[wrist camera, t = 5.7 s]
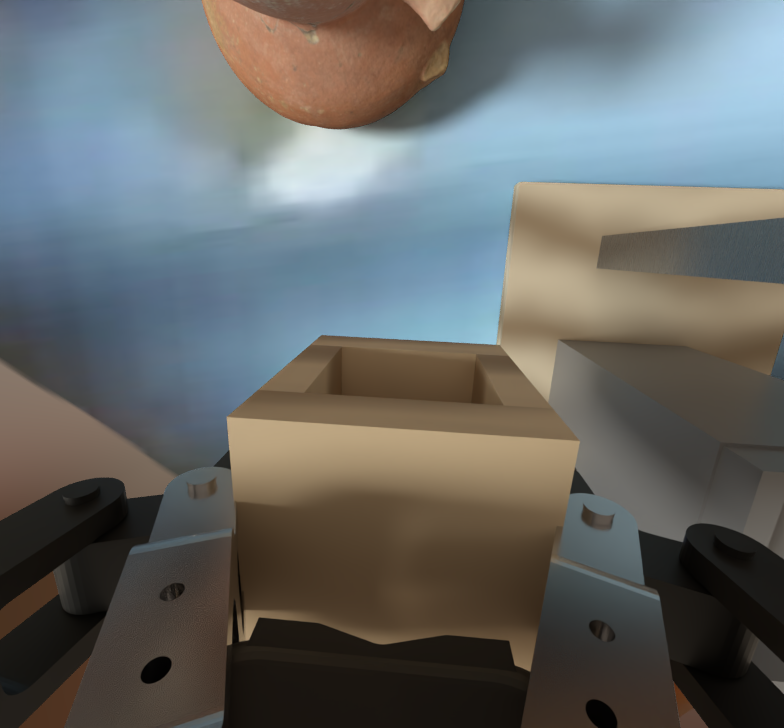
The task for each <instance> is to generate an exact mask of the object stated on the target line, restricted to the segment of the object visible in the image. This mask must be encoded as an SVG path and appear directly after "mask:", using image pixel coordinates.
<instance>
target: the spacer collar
mask: <svg viewBox="0 0 784 728" xmlns="http://www.w3.org/2000/svg"><path fill="white" fill-rule="evenodd" d="M227 426H228V438H229V450H230V462H231V474H232V486H233V498H234V501H236V503H237V515H238V559H239V571H240V583H241V591H244V598H245V619H246V640H249V639H250V637H251V634H252V632H253V630H254V627H255V625H256V623H257V621H258V618H259V617H261V618H272V619H282V620H293V621H304V622H315V623H320V624H323V625H326V626H329V627H331V628H334V629H337V630H340V631H342V632H345V633H348V634H351V635H353V636H356V637H359V638H362V639H364V640H367V641H370V642H373V643H376V644H391V643H397V642H404V641H410V640H416V639H422V638H429V637H435V636H441V635H454V636H465V637H476V638H486V639H497V640H508V641H509V642H510V646H511V651H512V655H513V660H514V664H515V666H518V667H521V668H523V669H526V670H528V671H530V669H531V664H532V658H533V653H534V647H535V642H536V636H537V631H538V625H539V620H540V615H541V610H542V604H543V599H544V594H545V588H546V582H547V577H548V571H549V566H550V560H551V555H552V549H553V544H554V538H555V533H556V527H557V526H562V527H563V526H564V521H565V516H566V511H567V506H568V501H569V495H570V490H571V485H572V480H573V475H574V470H575V464H576V459H577V454H578V449H579V444H580V440H579V439H578V438H577V437H576V436H575V435H574V433H573V432H572V431H571V430H570V429H569V427H568V426H567V425H566V424H565V423H564V421H563V420H562V419H561V418H560V417H559V415H558V414H557V413H556V412H555V411H554V409H553V408H552V407H551V406H550V405H549V403H548V402H547V401H546V400H545V399H544V397H543V396H542V395H541V394H540V393H539V391H538V390H537V389H536V388H535V387H534V385H533V384H532V383H531V382H530V381H529V379H528V378H527V377H526V376H525V375H524V373H523V372H522V371H521V370H520V369H519V367H518V366H517V365H516V364H515V363H514V361H513V360H512V359H511V358H510V357H509V355H508V354H507V353H506V352H505V351H504V350H503V348H502V347H501V346H500V345H488V344H470V343H452V342H434V341H416V340H398V339H380V338H362V337H344V336H326V335H321V336H320V337H319V338H318V339H317V340H316V341H314V342H313V343H312V344H311V345H310V346H309V347H307V348H306V349H305V350H304V351H303V352H302V353H300V354H299V355H298V356H297V357H296V358H295V359H294V360H292V361H291V362H290V363H289V364H288V365H287V366H285V367H284V368H283V369H282V370H281V371H280V372H278V373H277V374H276V375H275V376H274V377H273V378H271V379H270V380H269V381H268V382H267V383H266V384H265V385H263V386H262V387H261V388H260V389H259V390H258V391H256V392H255V393H254V394H253V395H252V396H251V397H249V398H248V399H247V400H246V401H245V402H244V403H243V404H241V405H240V406H239V407H238V408H237V409H236V410H234V411H233V412H232V413H231V414H230V415H229V416H227Z"/></svg>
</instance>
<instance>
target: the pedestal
mask: <svg viewBox="0 0 784 728" xmlns="http://www.w3.org/2000/svg"><path fill="white" fill-rule="evenodd" d="M548 403H549V405H550V406H551V407H552V408H553V409H554V411H555V412H556V413H557V414H558V415H559V417H560V418H561V419H562V420H563V421H564V423H565V424H566V425H567V426H568V427H569V429H570V430H571V431H572V432H573V433H574V435H575V436H576V437H577V438H578V439H579V440H580V444H579V449H578V454H577V459H576V464H575V468H576V469H577V472H579V473H580V475H581V476H582V478H583V479H584V480H585V482H586V483H587V485H588V486H589V487H590V489H591V490H592V492H593V493H594V494H595V495H597V496H600V497H603V498H606V499H609V500H611V501H613V502H615V503H617V504H619V505H620V506H622V507H623V508H625V509H626V510H627V511H628V512H630V513H631V514H632V516H633V517H634V518H635V520H636V522H637V526H638V530H641V531H643V532H647V533H650V534H654V535H657V536H661V537H665V538H669V539H672V540H676V541H680V542H683V540H684V536H685V533H686V530H687V528H688V527H689V526H691V525H693V524H699V523H706V524H714V525H719V526H723V527H726V528H729V529H732V530H735V531H738V532H740V533H742V534H745V535H747V536H749V537H751V538H753V539H754V540H756V541H758V542H760V543H761V544H763V545H764V546H766V547H767V548H769V549H770V550H771V551H773V552H774V553H776V554H777V555H778V556H780V557H781V558H783V559H784V380H781V379H778V378H775V377H773V376H770V375H767V374H764V373H761V372H758V371H755V370H753V369H750V368H747V367H744V366H741V365H738V364H735V363H733V362H730V361H727V360H724V359H721V358H718V357H715V356H713V355H710V354H707V353H704V352H701V351H698V350H695V349H693V348H690V347H687V346H671V345H652V344H633V343H614V342H595V341H576V340H558V344H557V350H556V356H555V363H554V369H553V375H552V382H551V388H550V395H549V401H548ZM751 661H752V662H753V663H754V664H755V665H756V666H757V667H758V668H759V669H760V670H761V671H762V672H763V673H764V674H765V675H766V676H767V677H768V678H769V679H770V680H771V681H772V682H773V683H774V684H775V685H776V686H777V687H778V688H779V689H780V691H781V692H782V693H783V694H784V663H783V662H782V661H781V660H780V659H779V658H778V657H777V656H776V655H775V654H774V653H773V652H772V651H771V650H770V649H769V648H768V647H767V646H766V645H765V644H763V643H762V642H761V641H760V640H759V642H758V645H757V647H756V650H755V652H754V655H753V657H752V660H751Z"/></svg>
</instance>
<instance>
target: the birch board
mask: <svg viewBox="0 0 784 728" xmlns="http://www.w3.org/2000/svg"><path fill="white" fill-rule="evenodd" d="M775 218H784V190H783V189H748V188H714V187H679V186H644V185H610V184H575V183H541V182H519V183H518V184H516V185H515V186H514V194H513V203H512V212H511V220H510V229H509V238H508V247H507V256H506V264H505V273H504V282H503V291H502V299H501V308H500V317H499V326H498V335H497V343H496V345H500V346H501V347H502V348H503V350H504V351H505V352H506V353H507V354H508V355H509V357H510V358H511V359H512V360H513V361H514V363H515V364H516V365H517V366H518V367H519V369H520V370H521V371H522V372H523V373H524V375H525V376H526V377H527V378H528V379H529V381H530V382H531V383H532V384H533V385H534V387H535V388H536V389H537V390H538V391H539V393H540V394H541V395H542V396H543V397H544V399H545V400H546V401H547V402H548V401H549V395H550V388H551V382H552V375H553V369H554V363H555V356H556V350H557V344H558V340H576V341H595V342H614V343H633V344H652V345H671V346H687V347H690V348H693V349H695V350H698V351H701V352H704V353H707V354H710V355H713V356H715V357H718V358H721V359H724V360H727V361H730V362H733V363H735V364H738V365H741V366H744V367H747V368H750V369H753V370H755V371H758V372H761V373H764V374H767V375H771V372H772V368H773V365H774V362H775V359H776V356H777V352H778V349H779V346H780V343H781V340H782V337H783V333H784V284H779V283H767V282H755V281H743V280H731V279H719V278H706V277H694V276H682V275H670V274H658V273H646V272H634V271H622V270H610V269H598V268H597V262H598V256H599V251H600V245H601V239H602V236H606V235H616V234H626V233H636V232H646V231H656V230H666V229H676V228H686V227H696V226H706V225H716V224H725V223H735V222H745V221H755V220H765V219H775Z"/></svg>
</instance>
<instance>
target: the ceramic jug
mask: <svg viewBox="0 0 784 728" xmlns="http://www.w3.org/2000/svg"><path fill="white" fill-rule="evenodd" d="M202 3H203V7H204V11H205V14H206V17H207V20H208V23H209V26H210V28H211V31H212V33H213V36H214V38H215V40H216V42H217V44H218V46H219V48H220V50H221V52H222V54H223V56H224V57H225V59H226V61H227V62H228V64H229V65H230V67H231V68H232V70H233V71H234V73H235V74H236V75H237V77H238V78H239V79H240V80H241V82H242V83H243V84H244V85H245V86H246V87H247V88H248V89H249V90H250V91H251V92H252V93H253V94H254V95H255V96H256V97H257V98H258V99H259V100H260V101H261V102H263V103H264V104H265V105H267V106H268V107H269V108H271V109H272V110H274V111H275V112H277V113H278V114H280V115H282V116H283V117H285V118H288V119H290V120H293V121H295V122H298V123H301V124H305V125H310V126H317V127H322V128H328V129H348V128H355V127H360V126H363V125H367V124H370V123H373V122H376V121H377V120H380V119H382V118H384V117H385V116H387V115H389V114H391V113H392V112H394V111H395V110H397V109H398V108H400V107H401V106H402V105H403V104H405V103H406V102H407V101H408V100H409V99H411V98H412V97H413V96H414V95H415V94H416V93H417V92H418V91H419V90H421V89H422V88H424V87H426V86H427V85H428V84H430V83H431V82H432V81H434V80H435V79H437V78H439V77H440V76H442V75H443V74H444V73H445V71H446V69H447V66H448V61H449V48H450V44H451V42H452V39H453V37H454V34H455V32H456V29H457V26H458V23H459V21H460V17H461V13H462V9H463V5H464V0H202Z"/></svg>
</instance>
